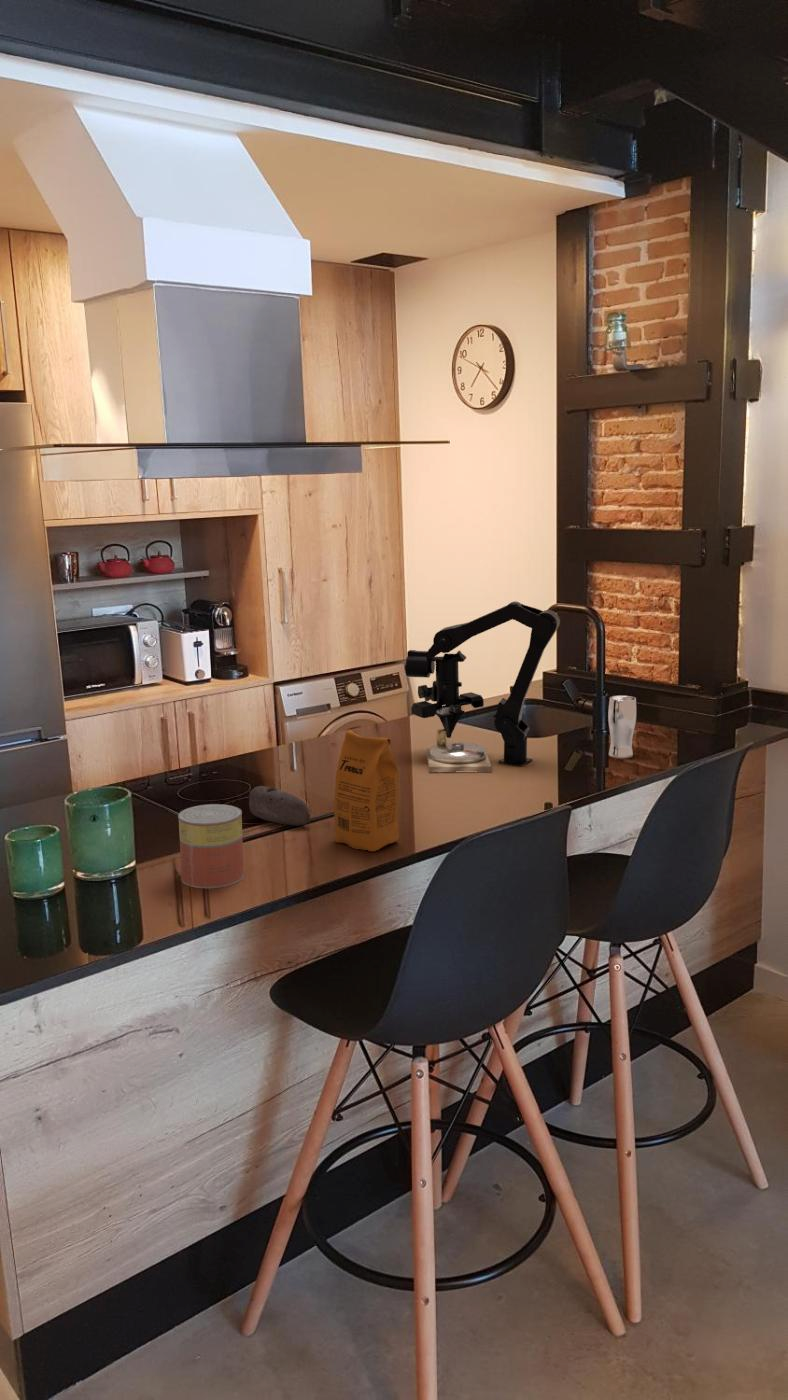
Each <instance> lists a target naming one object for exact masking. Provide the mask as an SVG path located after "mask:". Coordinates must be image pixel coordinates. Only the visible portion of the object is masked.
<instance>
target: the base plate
mask: <svg viewBox="0 0 788 1400" xmlns="http://www.w3.org/2000/svg"><path fill="white" fill-rule="evenodd" d="M425 753H426V754H427V755H426V760H428V761H427V766H428V773H429V772H456V771H477V772H476V773H492V764H491V761H490V759H489V756H488V754H487V753H486V757H485V759H483V760H481V761H477V762H471V763H445V762H440V761H436V760H433V759H432V758H430V748H426V752H425Z"/></svg>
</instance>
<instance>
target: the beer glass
mask: <svg viewBox="0 0 788 1400" xmlns="http://www.w3.org/2000/svg"><path fill="white" fill-rule="evenodd" d="M607 711H608V712H607V713H608V716H607V717H608V719H607V721H608V728H609V734H610V746H609V751H608V756H610V757H611V758H616V759H630V758H632V757H633V755H634V753H633V743H632V742H633V737H634V731H635V727H636V722H637V698H636V697H635V696H631V695H630V696H629V695H612V696H610V697H609V701H608V710H607Z"/></svg>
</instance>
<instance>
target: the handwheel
mask: <svg viewBox="0 0 788 1400" xmlns="http://www.w3.org/2000/svg"><path fill="white" fill-rule="evenodd" d="M429 749H430V758H432V759H433V760H436V761H440V762H445V763H471V762H477V761H481V760H483V759H485V757H486V754H487V747H485V746H483V745H481V744H477V743H473V742H464V741H463V742H460V741H453V742H452V741H451V742H447V737H446V729H444V728H438V729H436V744H434V745H432V746H431V747H429Z"/></svg>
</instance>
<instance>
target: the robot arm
mask: <svg viewBox="0 0 788 1400" xmlns="http://www.w3.org/2000/svg"><path fill="white" fill-rule="evenodd" d="M512 620H514V621H516V622H518V623H520V624H522V625H524V626H526V627H528V628H530V629H531V631H530V637H529V645H528V648H527V650H526V654H525V656H524V658H523V660H522V663H521V666H520V669H519V671H518V673H517V677H516V678H515V681H514V683H513V686H512V689H511V692H510V694H509V696H508V697H507V699H506V698H505V697H503V698H501V700H500V701H499V702H498V705H497V710H496V713H494V714H493V716H492V717H493V719H494V718H495V719H494V721H493V723H494V725H493V726H494V727H495V729H496V731H497V732H498V733H499V734H501V738H502V740H503V758H501V759H499V760H498V761H497V762H499V764H503V763H504V764H505V765H510V764H512V766H516V765H518V767H522V765H523V766H524V764H525V765H526V763H527V764H528V763H531V762H533V758H529V757H528V756H527V755H528V733H529V730H530V726H529V725H528V724H527V723H526V722H525V721H524V719H522V718H523V717H522V716H523V712H524V707H525V701H526V697H527V694H528V691H529V690H530V686H531V684H532V681H533V679H534V677H535V674H536V671H537V669H538V666H539V663H540V661H541V659H542V656H543V654H544V651H545V649H546V647H547V646H548V644H549V643H550V642H551V640H552V638H553V636H554V635H555V633H556V632H557V630H558V629H559V627H560V624H561V619H560V616H559V615H558V614H557V613H556V611H554V610H551V609H544V610H541V609H540V608H536V607H533V606H530V605H529V606H528V605H527V604H526V605H525V604H523V603H521V602H518V601H517V600H516V601H514V600H513V601H510V602H509V603H508V604H507V605H504V606H502V607H500V608H498V609H495V610H493V611H492V612H489V613H486V614H484V615H481V616H480V617H478V618H476V619H473V620H471V621H469V622H468V621H467V622H465V623H459V624H454V625H450V626H446V627H444V628H442V629H440V630H439V631H437V632H436V633H435V634H434V635H433V639H432V640H433V644H431V647H429V648H428V650H415V649H409V650H408V651H406V652H407V655H406V660H405V664H404V673H405V677H406V678H428V679H429V678H430V677H431V675H433V674H434V673H435V680H432V685H431V686H430V687H428V686H427V684H422V685H419V686H417V696H418V698H419V699H424V701H423V700H422V701H417V702H413V703H412V705H411V707H410V709H411V710H410V711H411V712H410V713H411V714H412V715H413V716H416V717H419V718H422V719H428V718H433V717H435V716H437V717H438V718H439V721H440V722H441V725H442V727H443V729H446V739H447V738H448V739H451V738H452V734H453V732H454V730H455V727H456V725H457V723H458V722H459V720H460V719H461V717H462V715H463V714H465V710H463V709H462V706H463V707H464V706H468V705H471V707H472V708H473V709H477V708H483V707H484V706H485V703H484V702H485V700H484V697H483V696H482V695H481V694H479V693H478V694H477V693H475V692H465V693H461V694H460V689H459V688H460V687H462V686H463V685H462V684H463V682H462V681H461V682H460V678H459V677H460V676H459V674H460V673H459V663H463V662H464V661H466V659H467V656H466V655H465V654H464V653H462V651H461V650H458V651H457V652H456V653H450V652H452V651H454V650H455V649H456V648H458V647H459V646H461V645H462V644H464V643H466V642H467V641H468V640H469V639H471V638H473V637H475V636H477V635H480V634H482V633H484V632H486V631H488V630H489V631H490V630H491V629H493V628H495V627H498V626H500V625H502V624H504V623H507V622H509V621H512ZM441 653H442V654H443V655H442V656H438V655H440V654H441ZM429 701H431V702H429ZM432 702H433V703H432ZM504 764H503V765H504Z"/></svg>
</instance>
